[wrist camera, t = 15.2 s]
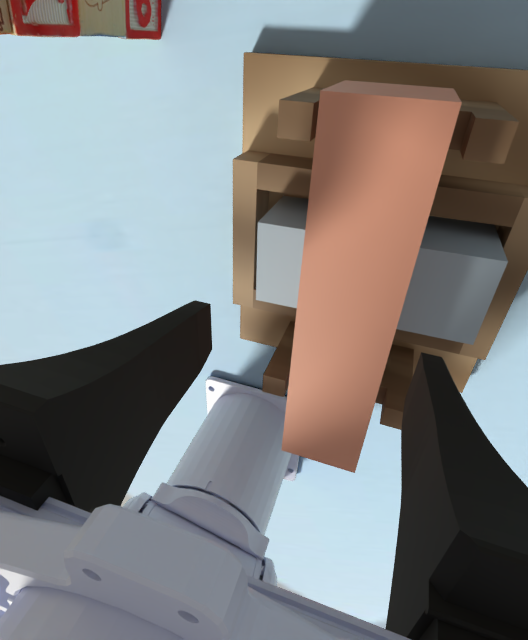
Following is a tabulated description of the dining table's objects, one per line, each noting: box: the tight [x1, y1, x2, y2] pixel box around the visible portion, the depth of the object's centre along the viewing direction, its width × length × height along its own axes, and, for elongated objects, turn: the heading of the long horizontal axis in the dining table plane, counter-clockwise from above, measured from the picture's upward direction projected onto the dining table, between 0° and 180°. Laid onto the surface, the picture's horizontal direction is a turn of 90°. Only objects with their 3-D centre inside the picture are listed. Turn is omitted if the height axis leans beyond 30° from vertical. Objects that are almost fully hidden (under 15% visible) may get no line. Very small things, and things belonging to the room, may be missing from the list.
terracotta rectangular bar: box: [281, 80, 462, 473], centre depth 16 cm, size 15×4×4 cm, turn 178°
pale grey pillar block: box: [256, 196, 508, 345], centre depth 19 cm, size 4×10×4 cm, turn 88°
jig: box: [233, 52, 528, 430], centre depth 19 cm, size 16×14×6 cm
